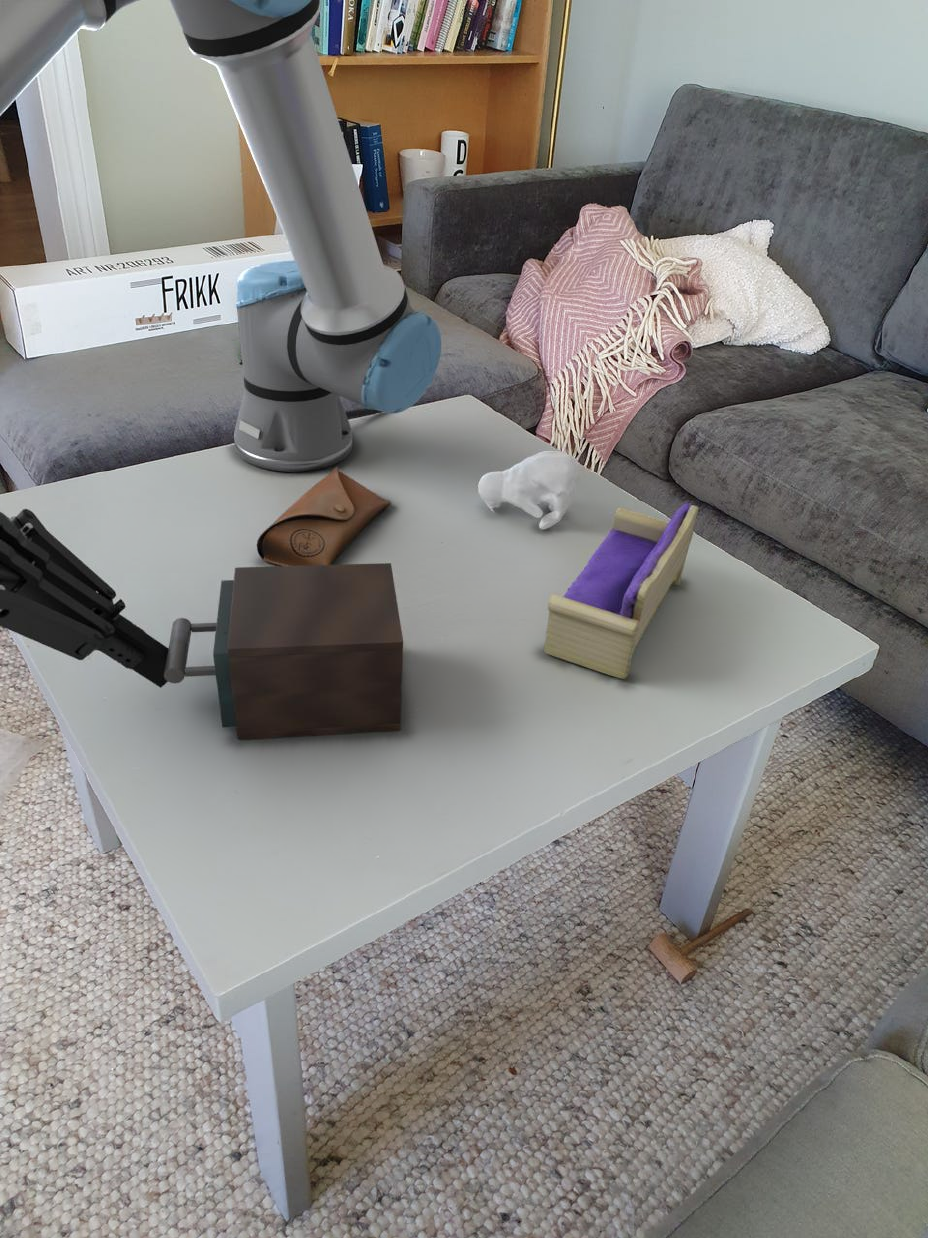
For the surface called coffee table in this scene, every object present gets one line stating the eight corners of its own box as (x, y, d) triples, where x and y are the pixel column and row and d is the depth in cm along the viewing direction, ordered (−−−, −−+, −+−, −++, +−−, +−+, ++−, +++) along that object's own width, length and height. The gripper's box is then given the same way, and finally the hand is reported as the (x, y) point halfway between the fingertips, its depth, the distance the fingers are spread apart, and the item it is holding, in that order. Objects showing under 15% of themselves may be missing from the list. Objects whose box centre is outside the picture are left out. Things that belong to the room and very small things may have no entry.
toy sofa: (608, 557, 103) (623, 475, 97) (683, 579, 100) (703, 497, 94) (537, 657, 88) (550, 567, 82) (624, 687, 85) (644, 596, 79)
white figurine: (573, 468, 101) (469, 456, 104) (570, 535, 106) (471, 522, 109) (584, 445, 106) (486, 435, 109) (581, 511, 111) (487, 499, 114)
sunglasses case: (328, 574, 96) (296, 520, 93) (278, 589, 99) (246, 537, 97) (394, 499, 110) (369, 450, 107) (349, 515, 113) (323, 467, 111)
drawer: (168, 731, 75) (155, 656, 71) (180, 652, 83) (169, 581, 79) (373, 719, 78) (373, 647, 73) (365, 644, 86) (365, 575, 81)
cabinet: (237, 740, 76) (227, 649, 70) (243, 653, 85) (234, 567, 80) (400, 730, 78) (403, 642, 73) (389, 647, 87) (391, 562, 82)
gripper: (-92, 488, 72) (152, 651, 84) (-158, 580, 61) (132, 750, 74) (-35, 426, 70) (207, 603, 82) (-93, 510, 59) (195, 698, 72)
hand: (172, 673), depth 78 cm, fingers closed
